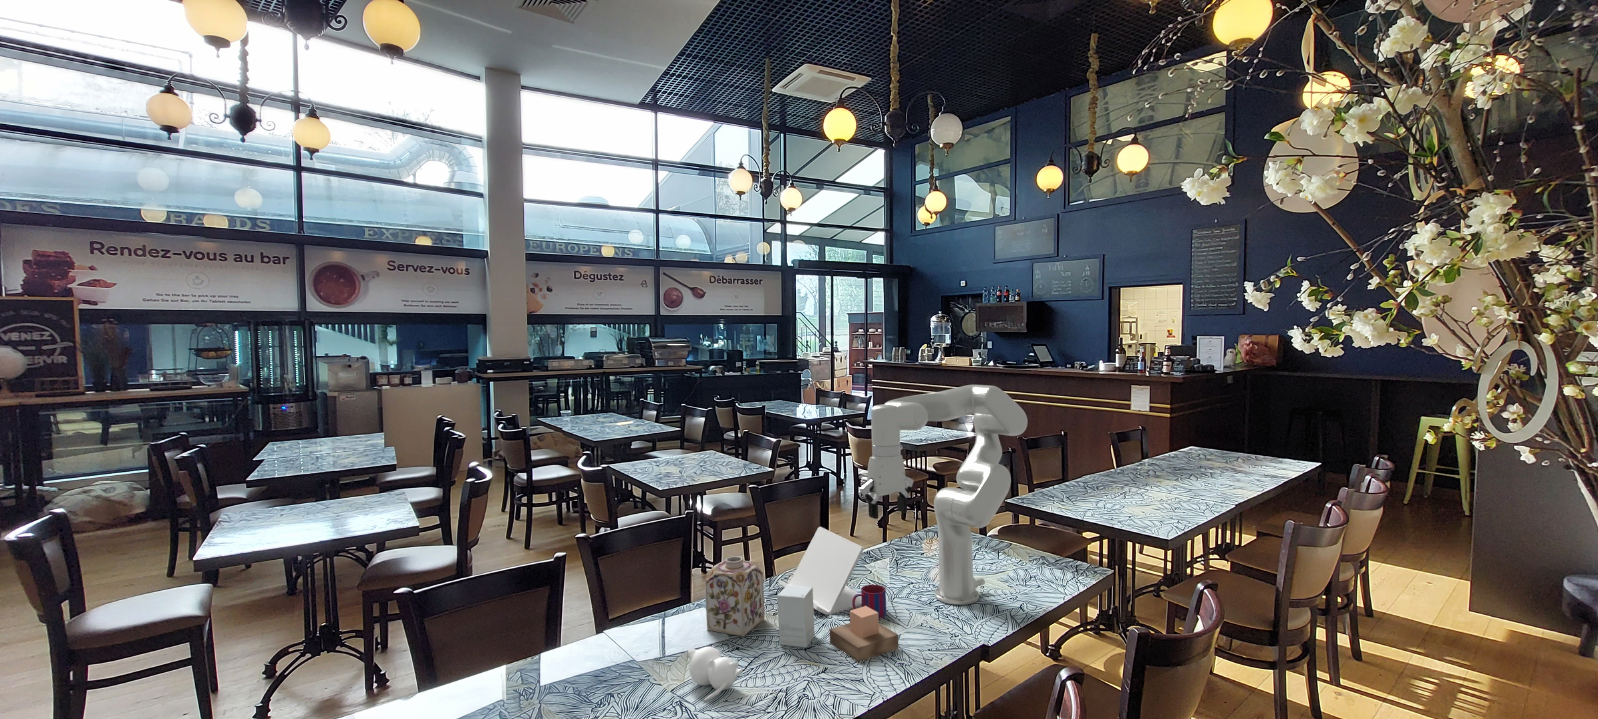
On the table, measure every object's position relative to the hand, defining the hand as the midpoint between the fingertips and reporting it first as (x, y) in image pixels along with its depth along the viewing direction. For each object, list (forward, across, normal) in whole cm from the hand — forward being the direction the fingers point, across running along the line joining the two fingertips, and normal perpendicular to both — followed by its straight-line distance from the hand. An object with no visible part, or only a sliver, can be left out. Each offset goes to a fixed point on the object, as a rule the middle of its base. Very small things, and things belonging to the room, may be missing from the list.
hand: (888, 514), depth 174 cm
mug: (+29, +3, -6) cm, 29 cm away
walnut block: (+29, +15, +8) cm, 34 cm away
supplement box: (+28, +27, -4) cm, 39 cm away
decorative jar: (+29, +36, -21) cm, 51 cm away
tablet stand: (+29, +6, -24) cm, 38 cm away
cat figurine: (+29, +54, +5) cm, 62 cm away
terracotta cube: (+25, +15, +8) cm, 30 cm away
